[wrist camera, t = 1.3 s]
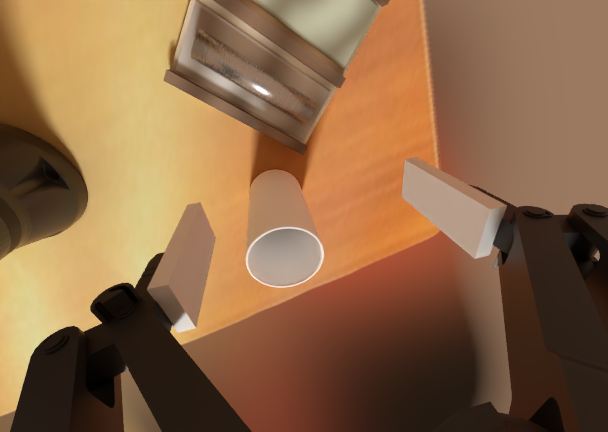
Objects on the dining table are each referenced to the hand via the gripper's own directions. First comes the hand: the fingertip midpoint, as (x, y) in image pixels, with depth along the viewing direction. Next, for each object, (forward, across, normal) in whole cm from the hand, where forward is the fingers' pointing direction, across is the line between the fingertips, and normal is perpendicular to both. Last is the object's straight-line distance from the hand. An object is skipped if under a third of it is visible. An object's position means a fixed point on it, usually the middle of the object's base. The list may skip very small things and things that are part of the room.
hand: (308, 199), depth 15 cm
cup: (+22, -2, -10) cm, 24 cm away
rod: (+20, -1, +6) cm, 21 cm away
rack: (+22, +2, +10) cm, 24 cm away
